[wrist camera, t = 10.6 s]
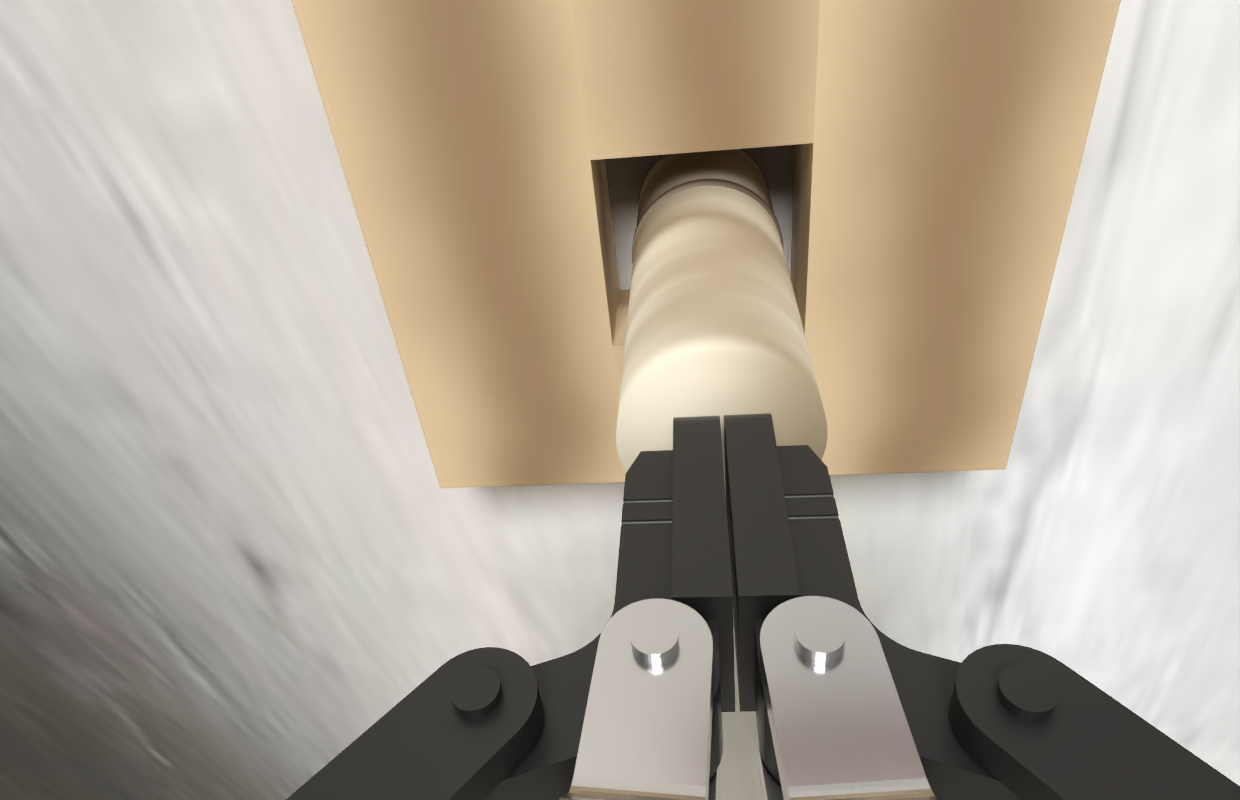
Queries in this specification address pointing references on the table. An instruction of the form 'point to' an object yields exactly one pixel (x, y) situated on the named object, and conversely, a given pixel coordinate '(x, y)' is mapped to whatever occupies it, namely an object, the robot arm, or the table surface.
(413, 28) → the board
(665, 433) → the peg
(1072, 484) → the table surface
